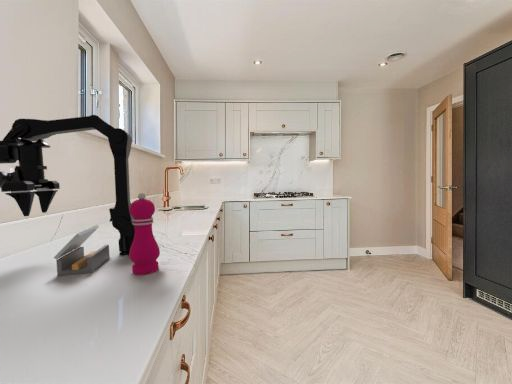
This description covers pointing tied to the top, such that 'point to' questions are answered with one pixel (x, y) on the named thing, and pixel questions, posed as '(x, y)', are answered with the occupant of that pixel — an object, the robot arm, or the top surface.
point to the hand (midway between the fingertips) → (35, 214)
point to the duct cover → (76, 241)
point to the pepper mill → (143, 237)
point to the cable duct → (82, 261)
